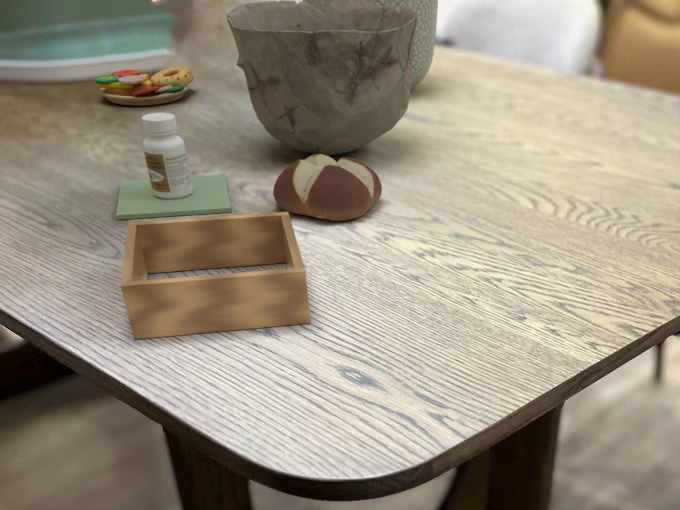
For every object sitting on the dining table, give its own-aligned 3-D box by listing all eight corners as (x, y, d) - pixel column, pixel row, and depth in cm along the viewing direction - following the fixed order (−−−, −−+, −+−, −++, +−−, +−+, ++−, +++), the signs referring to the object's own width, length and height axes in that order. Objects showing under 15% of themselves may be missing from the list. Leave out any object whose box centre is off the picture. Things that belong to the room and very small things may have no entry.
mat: (117, 220, 90) (115, 215, 89) (121, 184, 98) (120, 180, 98) (231, 212, 92) (230, 207, 91) (226, 178, 100) (225, 174, 100)
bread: (345, 230, 88) (342, 179, 85) (259, 211, 92) (252, 161, 89) (400, 200, 95) (399, 152, 92) (318, 183, 99) (314, 136, 96)
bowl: (449, 145, 112) (450, 8, 101) (346, 188, 98) (336, 36, 88) (321, 119, 120) (311, -9, 110) (211, 156, 107) (187, 13, 97)
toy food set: (203, 89, 133) (199, 65, 130) (174, 110, 123) (170, 84, 121) (122, 85, 134) (116, 61, 131) (87, 106, 124) (80, 81, 122)
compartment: (134, 339, 69) (120, 286, 66) (139, 271, 80) (127, 222, 77) (311, 323, 72) (305, 271, 69) (293, 259, 82) (288, 211, 79)
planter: (319, 73, 142) (307, -70, 129) (442, 76, 141) (443, -68, 128) (298, 104, 126) (282, -56, 114) (436, 107, 126) (436, -53, 113)
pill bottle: (146, 192, 95) (129, 115, 89) (181, 184, 97) (166, 109, 92) (165, 202, 92) (149, 124, 87) (200, 194, 95) (186, 117, 89)
